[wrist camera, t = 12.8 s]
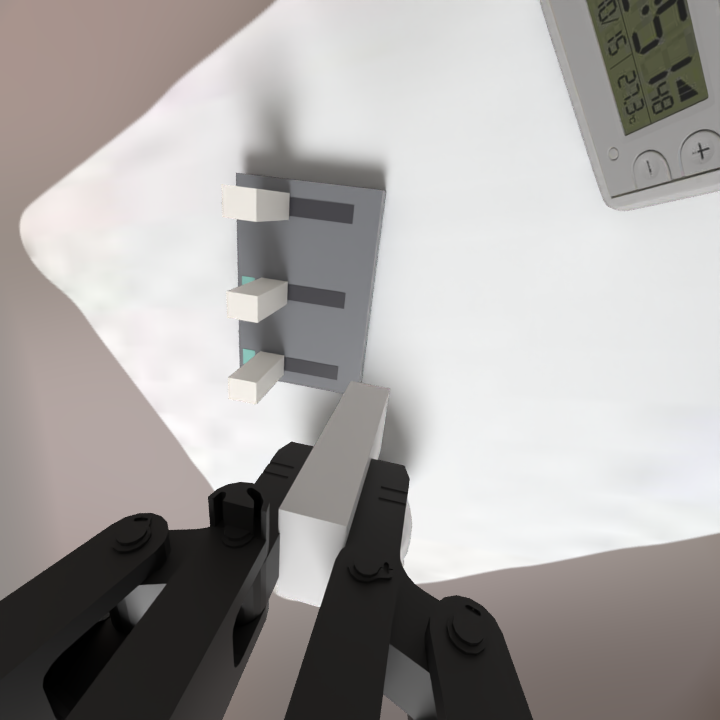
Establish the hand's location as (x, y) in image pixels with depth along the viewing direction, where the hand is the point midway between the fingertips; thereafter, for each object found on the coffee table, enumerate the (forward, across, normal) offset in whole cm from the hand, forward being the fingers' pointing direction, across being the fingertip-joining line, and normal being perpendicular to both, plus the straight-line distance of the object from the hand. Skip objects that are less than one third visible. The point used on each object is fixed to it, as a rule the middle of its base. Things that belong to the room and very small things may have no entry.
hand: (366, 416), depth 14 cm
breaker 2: (+18, +12, +7) cm, 23 cm away
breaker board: (+20, +10, 0) cm, 22 cm away
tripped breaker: (+18, +12, 0) cm, 21 cm away
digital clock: (+21, -11, -17) cm, 29 cm away
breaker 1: (+18, +12, -7) cm, 22 cm away
